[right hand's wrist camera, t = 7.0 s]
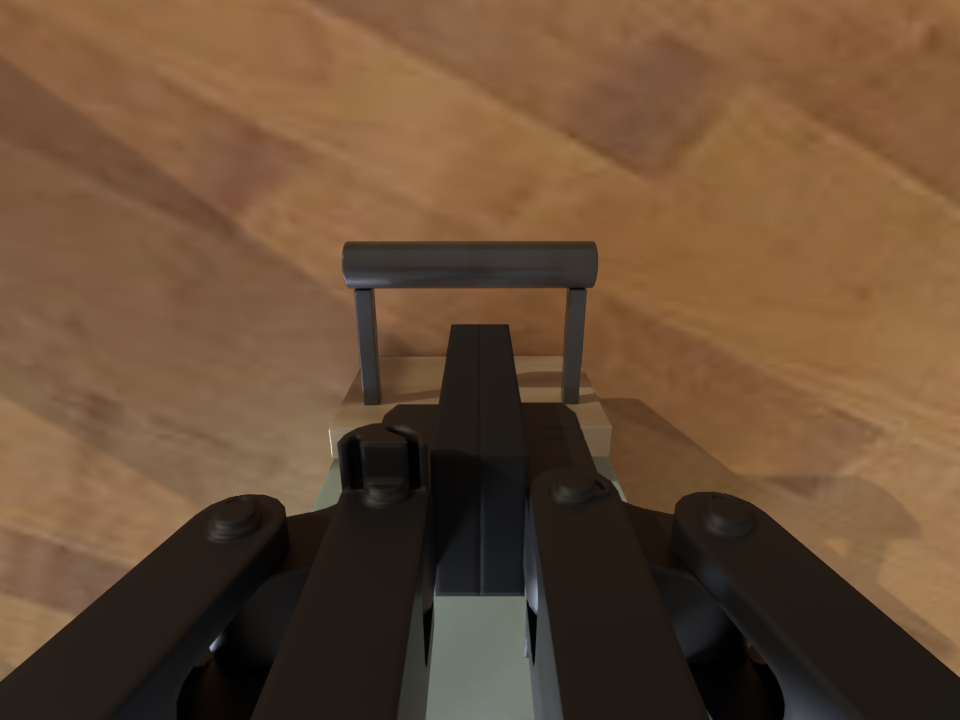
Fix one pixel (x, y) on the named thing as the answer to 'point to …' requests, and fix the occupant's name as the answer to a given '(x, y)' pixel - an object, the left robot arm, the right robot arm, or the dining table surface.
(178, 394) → the dining table surface
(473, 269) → the drawer
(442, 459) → the right robot arm
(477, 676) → the cabinet
